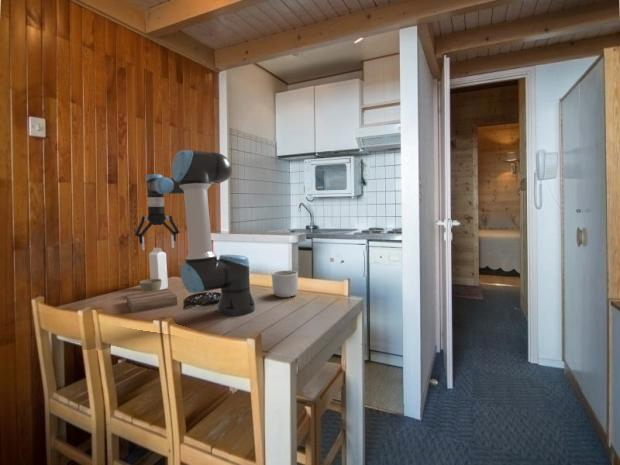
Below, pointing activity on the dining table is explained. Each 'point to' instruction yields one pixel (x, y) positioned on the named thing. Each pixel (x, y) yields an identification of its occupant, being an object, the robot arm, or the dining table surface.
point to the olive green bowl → (150, 285)
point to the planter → (285, 283)
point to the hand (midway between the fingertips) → (158, 248)
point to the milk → (158, 266)
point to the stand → (151, 300)
